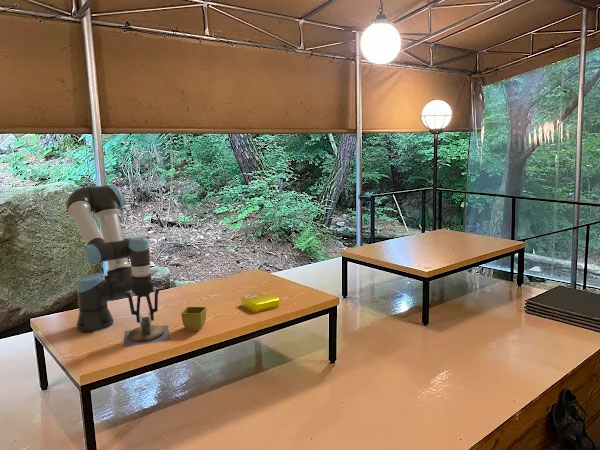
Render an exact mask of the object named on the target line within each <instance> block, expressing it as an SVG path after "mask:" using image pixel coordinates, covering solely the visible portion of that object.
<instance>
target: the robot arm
mask: <svg viewBox="0 0 600 450" xmlns="http://www.w3.org/2000/svg"><path fill="white" fill-rule="evenodd" d="M66 200H67V201H66V204H65V205H66V213H67V214H68V215H69V217H71V218H72V219H73V220H74V222H75V225H76V227H77V229H78V231H79V234H80V236H81V238H82V240H83V243H84V245H85V246H84V247H83V257H84V260H85V262H86V263H87V264H95V263H97V264H98V263H102V262H107V264H108V269H107V271H106V275H105V273H103V272H95V273H90V274H88V275H84V276H82V277H80V278H79V279H78V280H77V282H76V293H77V299H78V300H77V301H78V310H79V314H78V317H77V321H76V329H77V331H78V330H79V331H78V332H80V331H82V332H81V333H94V332H96V331H101V330H104V329H107V328H110V327H111V326H113V324H114V318H113V316H112V314H111V311H110V310H109V306H108V302H111V301H115V300H120V299H125V298H128V302H129V303H128V304H129V308H130V312H131V315H132V316H133V315H135V316H136V317H135V318H136V322H137V323H138V324H139V327H140V330H141V331H142V313H140V309H141V308H140V307H141V298H143V297H145V298H146V302H147V305H148V309H149V312H148V317H149V324H150V329H152V325H153V324H152V321H154V320H155V317H154V313H157V312H158V307H159V305H158V303H159V298H158V297H159V292H160V287H155V286H154V285H153V282H152V274H151V273H152V272H151V271H152V270H151V259H150V244H149V239H148V237H146V236H136V237H135V236H134V237H125V238H124V236H123V231H122V227H121V223H120V217H119V215H120V213H121V211H122V209H123V207H124V201H123V200H124V199H123V196H122V193H121V191H120V189H119V188H118V186H116V185H98V186H96V185H95V186H84V187H83V186H82V187H80V188H77V189H75V190H74V191H72V193H70V195H69V197H68V198H67V199H66ZM92 212H93V213H94V216H93V215H92ZM95 217H96V218H98V220H99V225H100V228H99V225H98V224H97V222H96V220H95ZM128 258H130V263H129V259H128ZM151 292H153V293H154V308H153V304H152V301H151V297H150V295H151ZM134 296H136V297H137V298H136V309H135V307H134V301H133V297H134Z"/></svg>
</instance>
